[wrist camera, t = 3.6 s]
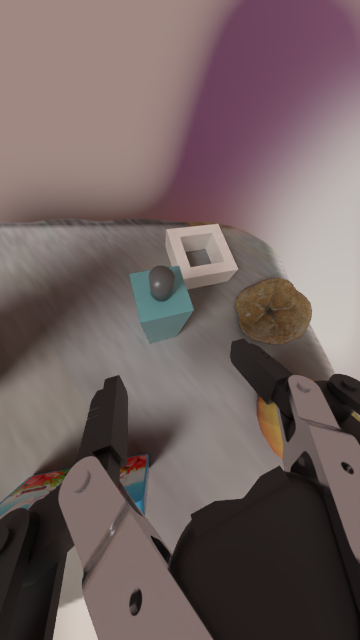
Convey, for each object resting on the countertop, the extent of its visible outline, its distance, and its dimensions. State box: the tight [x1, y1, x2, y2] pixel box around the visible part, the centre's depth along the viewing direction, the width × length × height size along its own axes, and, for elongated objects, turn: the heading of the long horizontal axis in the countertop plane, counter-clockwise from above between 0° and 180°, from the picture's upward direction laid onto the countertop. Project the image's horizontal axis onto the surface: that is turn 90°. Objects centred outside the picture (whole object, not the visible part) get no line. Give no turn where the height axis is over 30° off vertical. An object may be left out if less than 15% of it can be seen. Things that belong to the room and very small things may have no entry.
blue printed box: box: [0, 453, 149, 519], centre depth 13 cm, size 12×2×6 cm, turn 95°
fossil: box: [235, 278, 312, 345], centre depth 22 cm, size 9×4×10 cm
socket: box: [165, 224, 238, 290], centre depth 24 cm, size 9×9×4 cm
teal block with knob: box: [129, 266, 194, 343], centre depth 15 cm, size 4×4×13 cm
